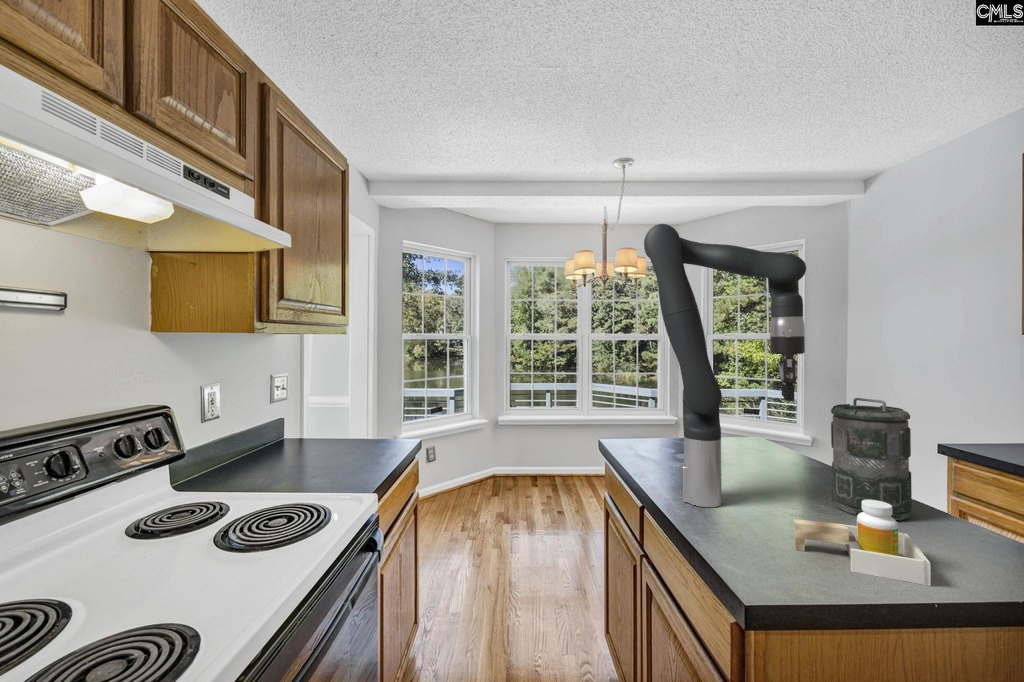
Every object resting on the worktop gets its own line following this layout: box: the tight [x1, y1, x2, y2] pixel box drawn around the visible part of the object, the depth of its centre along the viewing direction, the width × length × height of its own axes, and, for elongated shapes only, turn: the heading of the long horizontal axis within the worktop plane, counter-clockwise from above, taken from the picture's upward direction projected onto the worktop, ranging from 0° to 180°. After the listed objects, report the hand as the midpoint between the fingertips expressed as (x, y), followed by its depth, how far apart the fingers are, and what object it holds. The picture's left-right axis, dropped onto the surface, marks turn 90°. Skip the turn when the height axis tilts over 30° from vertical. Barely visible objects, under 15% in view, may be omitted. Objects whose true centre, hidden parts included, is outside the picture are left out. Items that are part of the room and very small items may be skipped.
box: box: [839, 524, 932, 587], centre depth 88 cm, size 11×14×4 cm
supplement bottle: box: [856, 500, 899, 556], centre depth 88 cm, size 6×6×11 cm
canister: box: [830, 397, 913, 521], centre depth 115 cm, size 16×16×28 cm
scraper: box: [793, 518, 861, 559], centre depth 92 cm, size 10×9×6 cm
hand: (787, 398), depth 116 cm, fingers open, 8 cm apart
